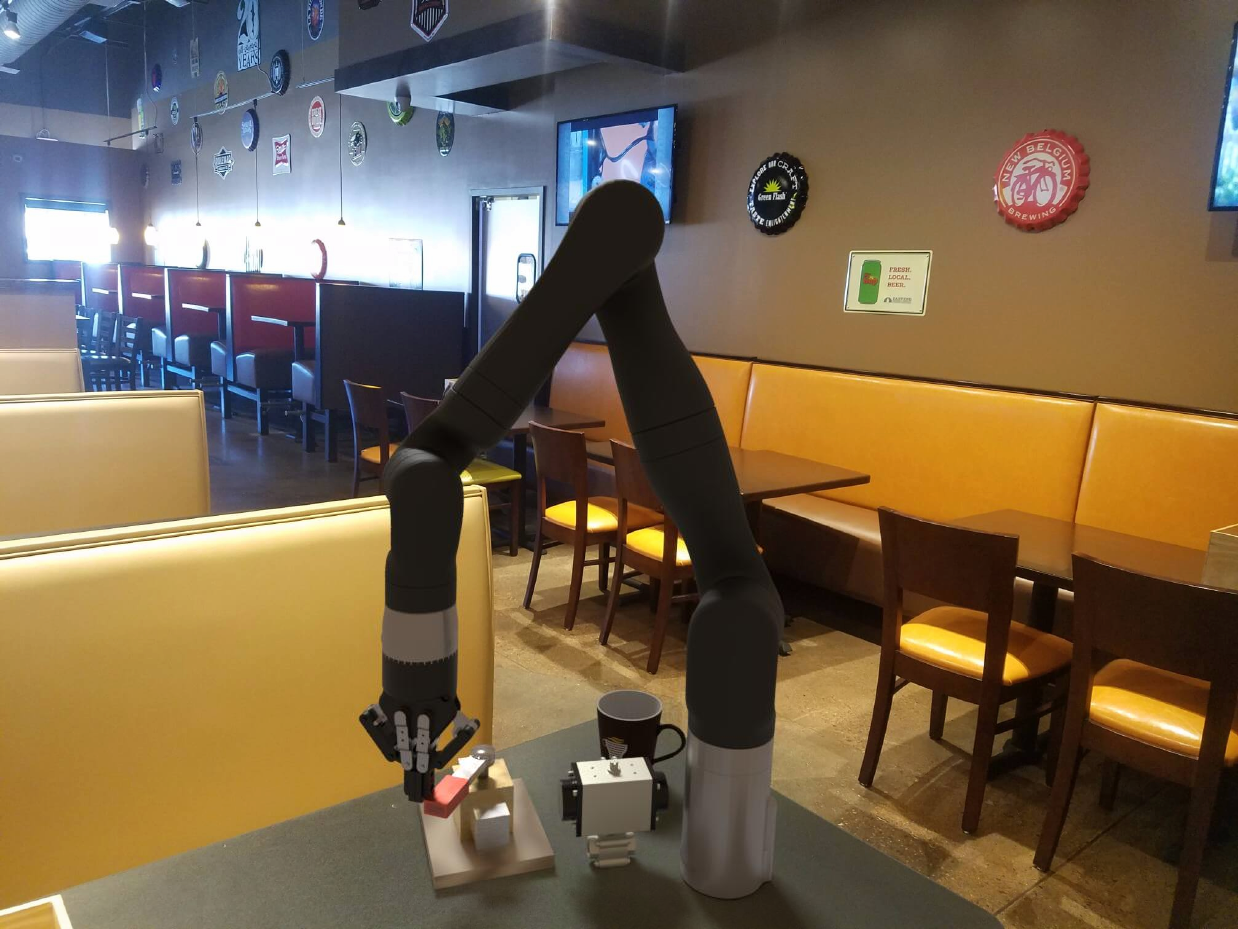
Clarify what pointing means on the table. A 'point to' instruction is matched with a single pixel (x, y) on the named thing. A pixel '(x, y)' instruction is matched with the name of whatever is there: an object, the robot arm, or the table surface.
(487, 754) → the lever
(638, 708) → the coffee mug
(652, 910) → the table surface
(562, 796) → the pneumatic valve
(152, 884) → the table surface
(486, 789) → the valve
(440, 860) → the mounting board
